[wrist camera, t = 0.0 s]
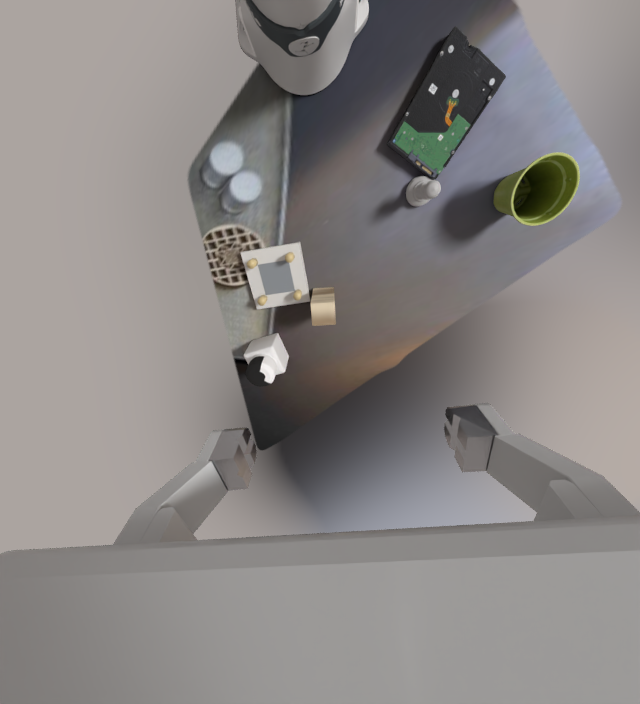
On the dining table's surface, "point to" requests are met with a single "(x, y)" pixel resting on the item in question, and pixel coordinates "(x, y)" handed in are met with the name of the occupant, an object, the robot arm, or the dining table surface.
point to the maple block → (323, 306)
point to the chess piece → (422, 190)
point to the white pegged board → (276, 275)
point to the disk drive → (446, 105)
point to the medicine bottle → (265, 359)
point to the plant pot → (539, 189)
